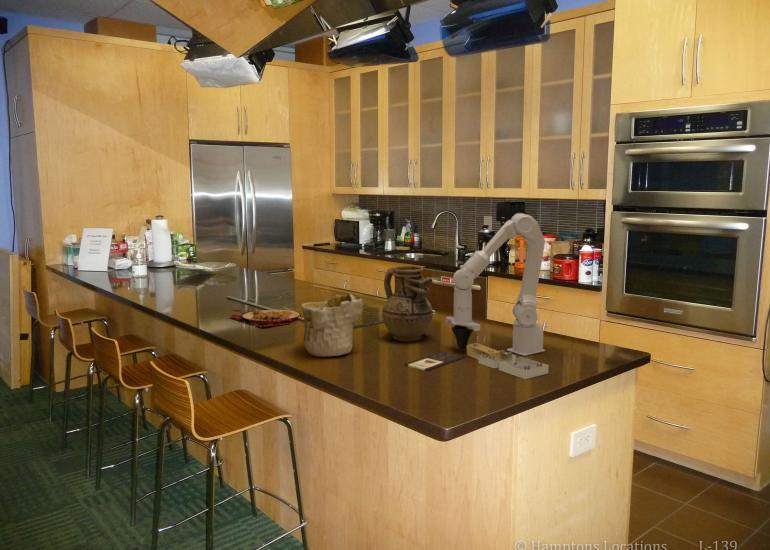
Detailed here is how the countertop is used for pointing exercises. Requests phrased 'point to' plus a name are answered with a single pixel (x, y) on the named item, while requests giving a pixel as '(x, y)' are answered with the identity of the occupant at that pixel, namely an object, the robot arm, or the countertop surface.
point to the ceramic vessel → (330, 325)
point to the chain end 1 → (493, 362)
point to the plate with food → (268, 317)
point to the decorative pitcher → (407, 303)
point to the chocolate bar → (434, 361)
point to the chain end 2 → (524, 368)
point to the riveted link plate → (481, 351)
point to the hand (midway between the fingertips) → (462, 348)
